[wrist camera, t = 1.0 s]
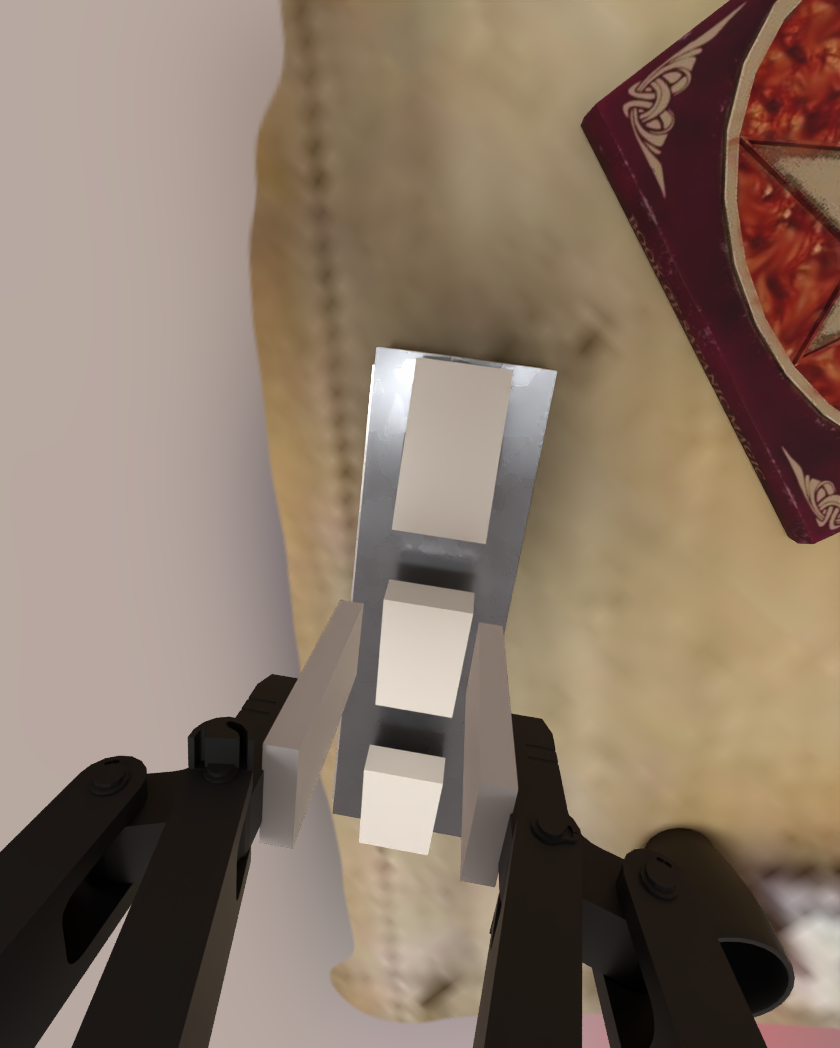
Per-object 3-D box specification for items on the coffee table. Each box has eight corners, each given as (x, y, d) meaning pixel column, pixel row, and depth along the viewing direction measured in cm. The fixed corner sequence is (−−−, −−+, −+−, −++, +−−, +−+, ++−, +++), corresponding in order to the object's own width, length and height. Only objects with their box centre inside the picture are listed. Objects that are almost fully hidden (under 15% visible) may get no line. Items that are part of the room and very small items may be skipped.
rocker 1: (418, 369, 30) (414, 356, 27) (509, 381, 30) (515, 370, 27) (396, 524, 31) (389, 529, 28) (484, 538, 31) (487, 544, 28)
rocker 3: (372, 727, 36) (362, 769, 33) (448, 740, 35) (444, 784, 33) (366, 800, 41) (357, 842, 38) (433, 812, 40) (429, 855, 38)
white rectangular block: (391, 565, 32) (381, 599, 29) (477, 579, 32) (475, 614, 29) (382, 668, 37) (373, 704, 34) (456, 680, 36) (453, 718, 34)
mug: (600, 905, 47) (629, 1036, 38) (647, 805, 43) (692, 924, 34) (690, 928, 47) (741, 1065, 38) (747, 829, 43) (818, 956, 34)
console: (387, 346, 34) (372, 346, 29) (545, 367, 33) (557, 371, 29) (345, 767, 45) (329, 815, 40) (463, 788, 45) (462, 840, 40)
